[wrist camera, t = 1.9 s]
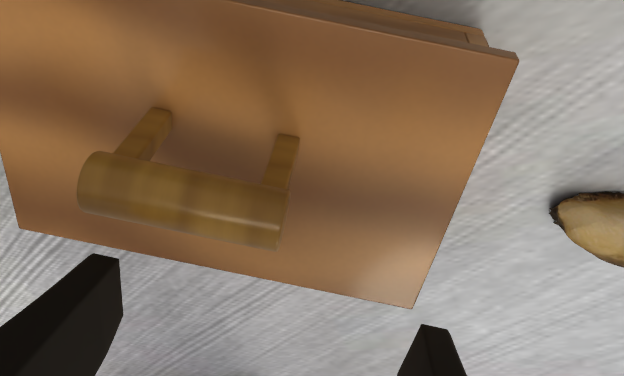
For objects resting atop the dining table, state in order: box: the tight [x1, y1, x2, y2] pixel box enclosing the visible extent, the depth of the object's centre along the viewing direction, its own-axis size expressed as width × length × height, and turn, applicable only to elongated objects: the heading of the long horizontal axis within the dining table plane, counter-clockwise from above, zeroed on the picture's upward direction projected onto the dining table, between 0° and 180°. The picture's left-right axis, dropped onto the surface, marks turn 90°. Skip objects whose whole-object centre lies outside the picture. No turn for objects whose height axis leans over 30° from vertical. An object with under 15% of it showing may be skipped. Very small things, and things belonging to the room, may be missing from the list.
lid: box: [0, 0, 519, 309], centre depth 15 cm, size 10×15×5 cm, turn 81°
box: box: [262, 0, 489, 47], centre depth 19 cm, size 9×15×4 cm, turn 81°
